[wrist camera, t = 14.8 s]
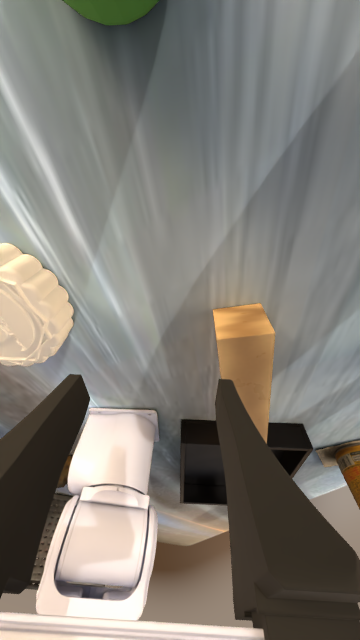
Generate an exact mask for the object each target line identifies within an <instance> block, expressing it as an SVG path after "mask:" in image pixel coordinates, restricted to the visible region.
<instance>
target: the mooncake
mask: <svg viewBox="0 0 360 640" xmlns="http://www.w3.org/2000/svg"><path fill="white" fill-rule="evenodd" d="M68 298H69V296H68V293H67V291H66V290H65V289H64V288H63V287H61V286H59V285H58V279H57V277H56V276H55V275H54V274H53V273H52V272H51V271H49V270H47V269H43V267H42V265H41V263H40V262H39V260H38V259H36V258H35V257H33V256H31V255H27V254H22V252H21V251H20V250H19V249H18V248H17V247H15V246H14V245H11V244H8V243H3V244H0V363H1V364H3V365H6V366H15V365H20V366H25V367H26V366H31V365H33V364H34V363H43V362H45V361H46V360H47V359H48V357H50V356H53V355H54V354H56V352H57V351H58V349H59V348H60V346H61V345H62V344H63V342H64V341H65V339H66V338H67V336H68V332H69V331H70V330H71V328H72V327H73V320H72V318H71V316H72V315H73V312H74V310H73V307H72V305H71V304H70V303H69V302H67V301H68Z"/></svg>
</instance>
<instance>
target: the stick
mask: <svg viewBox="0 0 360 640" xmlns="http://www.w3.org/2000/svg"><path fill="white" fill-rule="evenodd" d="M213 317H214V325H215V333H216V342H217V350H218V359H219V367H220V375H221V379H231V380H232V381H233V383H234V385H235V388H236V390H237V392H238V394H239V396H240V399H241V401H242V403H243V404H244V406H245V408H246V410H247V412H248V414H249V416H250V417H251V419H252V421H253V423H254V424H255V426H256V428H257V429H258V431H259V433H260V434H261V436H262V437H263V439H264V441H265V442H266V444H267V434H268V421H269V408H270V395H271V382H272V368H273V355H274V342H275V332H274V330H273V328H272V326H271V324H270V322H269V319H268V317H267V315H266V313H265V311H264V309H263V307H262V305H261V303H259V304H251V305H243V306H236V307H228V308H221V309H213Z"/></svg>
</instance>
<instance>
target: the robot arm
mask: <svg viewBox="0 0 360 640" xmlns="http://www.w3.org/2000/svg"><path fill="white" fill-rule="evenodd" d="M89 401H90V397H89V394H88V392H87V389H86V386H85V384H84V381H83V378H82V376H81V375H74V374H70V375H69V376H67V377H66V378H65V379H64V380H63V381H62V382H61V383H60V384H59V385H58V386H57V387H56V388H55V389H54V390H53V391H52V392H51V393H50V394H49V395H48V396H47V397H46V398H45V399H44V400H43V401H42V402H41V403H40V404H39V405H38V406H37V407H36V408H35V409H34V410H33V411H32V412H31V413H30V414H29V415H28V416H26V417H25V418H24V419H23V420H22V421H21V422H20V423H19V424H18V425H16V426H15V427H14V428H13V429H12V430H11V431H10V432H8V433H7V434H6V435H5V436H4V437H2V438H1V439H0V598H1V595H2V593H11V594H20V593H21V592H22V591H23V590H24V589H26V587H27V586H28V585H29V584H30V581H31V576H32V572H33V568H34V564H35V560H36V556H37V553H38V549H39V545H40V541H41V538H42V534H43V530H44V527H45V523H46V520H47V516H48V513H49V510H50V507H51V503H52V500H53V497H54V494H55V491H56V488H57V485H58V482H59V479H60V476H61V473H62V470H63V467H64V465H65V462H66V460H67V458H68V455H69V453H70V451H71V449H72V446H73V444H74V442H75V439H76V437H77V435H78V432H79V430H80V428H81V425H82V423H83V420H84V418H85V415H86V412H87V408H88V405H89ZM215 406H216V422H217V429H218V435H219V441H220V447H221V454H222V460H223V466H224V472H225V480H226V493H227V505H228V519H229V533H230V547H231V564H232V582H233V602H234V612H235V619H236V620H252V621H253V628H241V627H226V626H211V625H196V624H180V623H164V622H149V621H137V620H138V619H139V618H140V616H141V615H142V612H143V608H144V606H145V605H146V599H147V592H148V585H149V579H150V576H151V573H152V568H153V563H154V557H155V551H156V542H157V528H158V519H157V513H156V511H155V510H154V507H153V506H152V505H149V497H150V496H148V495H147V490H148V482H149V475H150V467H151V459H152V452H153V444H154V442H158V441H159V439H160V437H159V427H158V417H157V412H156V411H155V410H133V409H106V408H90V409H89V414H90V415H89V417H88V420H87V422H86V425H85V427H84V430H83V432H82V435H81V437H80V440H79V443H78V445H77V448H76V450H75V453H74V455H73V458H72V461H71V464H70V468H69V474H68V489H69V491H70V493H71V494H74V495H75V496H74V497H73V498H72V499H70V500H69V501H68V502H67V504H66V505H65V507H64V510H63V512H62V514H61V517H60V519H59V522H58V524H57V527H56V530H55V533H54V535H53V538H52V541H51V545H50V548H49V551H48V554H47V558H46V562H45V567H44V573H43V576H42V579H41V582H40V585H39V588H38V592H37V595H36V598H37V603H36V611H37V614H27V613H12V612H0V640H360V621H359V620H360V609H359V607H358V604H357V603H358V602H360V560H359V558H358V556H357V554H356V552H355V551H354V550H353V548H352V547H351V546H350V545H349V544H348V543H347V542H346V541H345V540H344V539H343V538H342V537H341V536H340V534H339V533H338V532H337V531H336V530H335V529H334V528H333V527H332V526H331V525H330V524H329V522H327V520H326V519H325V518H324V517H323V516H322V514H321V513H320V512H319V511H318V510H317V509H316V508H315V507H314V505H313V504H312V503H311V502H310V501H309V499H308V498H307V497H306V496H305V494H304V493H303V492H302V491H301V489H300V488H299V487H298V486H297V485H296V483H295V482H294V481H293V480H292V478H291V477H290V476H289V474H288V473H287V472H286V470H285V469H284V468H283V466H282V465H281V464H280V462H279V461H278V460H277V458H276V457H275V455H274V454H273V453H272V451H271V450H270V448H269V447H268V445H267V444H266V442H265V441H264V439H263V437H262V436H261V434H260V433H259V431H258V429H257V428H256V426H255V424H254V423H253V421H252V419H251V417H250V416H249V414H248V412H247V410H246V408H245V406H244V404H243V403H242V401H241V399H240V396H239V394H238V392H237V390H236V388H235V385H234V383H233V381H232V380H231V379H219V383H218V389H217V395H216V402H215ZM79 495H81V496H79ZM66 581H70V582H81V583H92V584H103V585H115V586H124V587H121V588H106V587H95V586H84V585H73V584H70V583H68V582H66Z"/></svg>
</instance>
